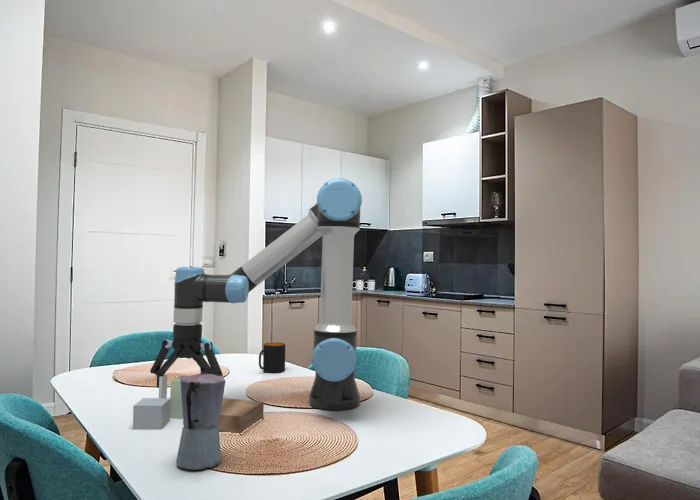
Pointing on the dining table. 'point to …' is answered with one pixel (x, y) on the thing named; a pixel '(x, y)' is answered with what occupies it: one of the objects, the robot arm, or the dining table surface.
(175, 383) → the sage block
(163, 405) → the slate block
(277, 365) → the mug
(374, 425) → the dining table surface
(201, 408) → the moka pot
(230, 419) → the walnut block
